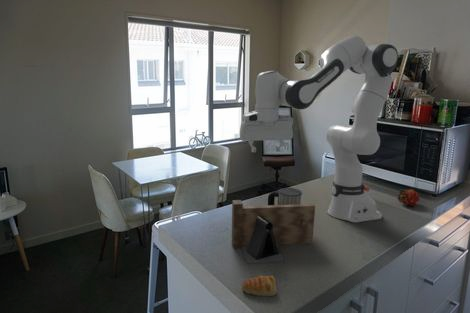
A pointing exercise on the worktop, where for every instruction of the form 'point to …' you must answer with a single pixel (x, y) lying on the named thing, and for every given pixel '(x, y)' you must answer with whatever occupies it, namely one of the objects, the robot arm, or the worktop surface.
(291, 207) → the door panel
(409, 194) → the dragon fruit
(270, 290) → the pastry
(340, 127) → the robot arm
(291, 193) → the milk frother
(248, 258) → the door mat
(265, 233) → the phone stand
